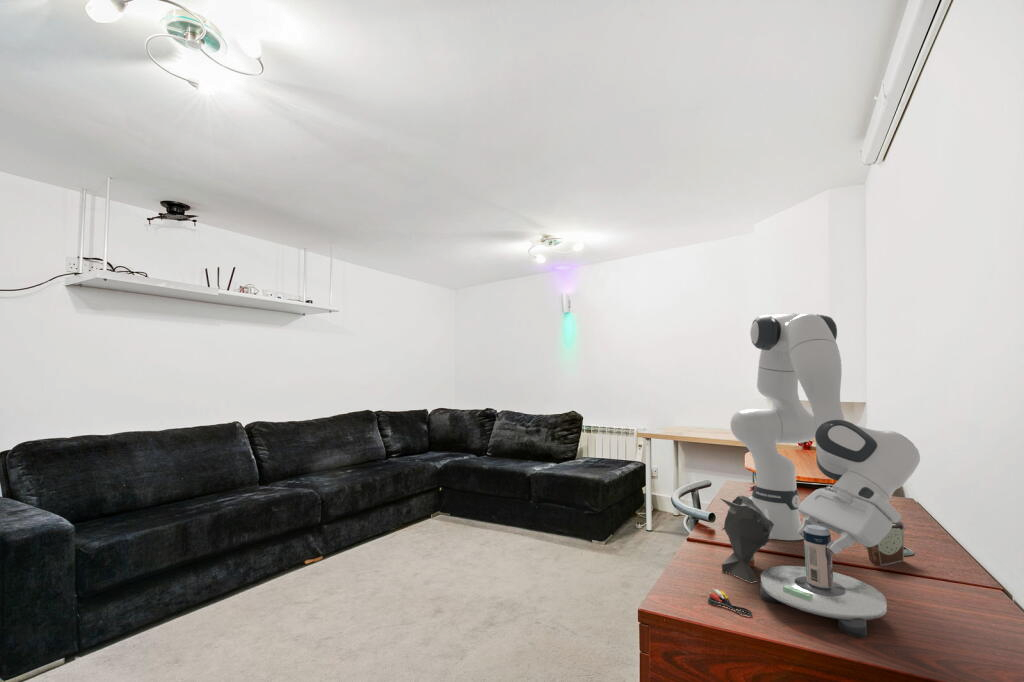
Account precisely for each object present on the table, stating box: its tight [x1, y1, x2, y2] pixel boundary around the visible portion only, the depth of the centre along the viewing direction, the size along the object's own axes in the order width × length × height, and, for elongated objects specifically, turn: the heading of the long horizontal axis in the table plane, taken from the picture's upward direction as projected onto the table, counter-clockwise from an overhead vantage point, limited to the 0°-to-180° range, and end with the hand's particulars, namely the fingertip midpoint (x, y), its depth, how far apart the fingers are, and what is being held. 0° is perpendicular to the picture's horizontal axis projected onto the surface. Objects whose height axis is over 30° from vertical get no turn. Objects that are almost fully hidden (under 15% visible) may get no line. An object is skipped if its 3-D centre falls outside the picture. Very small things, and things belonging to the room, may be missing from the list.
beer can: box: [803, 524, 834, 589], centre depth 98 cm, size 5×5×12 cm
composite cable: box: [706, 587, 753, 617], centre depth 98 cm, size 10×5×2 cm, turn 22°
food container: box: [866, 520, 906, 567], centre depth 125 cm, size 12×6×10 cm, turn 111°
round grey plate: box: [759, 565, 888, 638], centre depth 98 cm, size 22×22×6 cm
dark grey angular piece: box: [719, 495, 774, 582], centre depth 120 cm, size 14×15×18 cm
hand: (815, 542), depth 99 cm, fingers open, 8 cm apart
